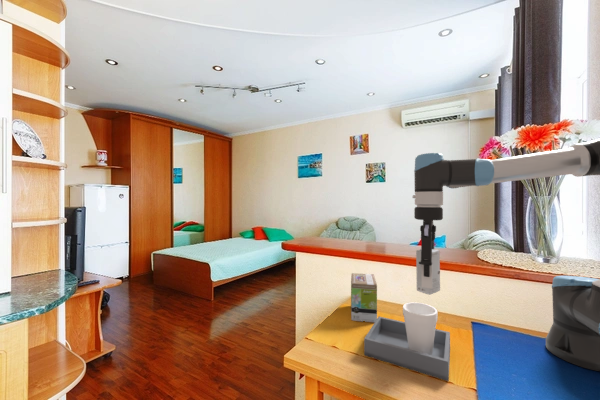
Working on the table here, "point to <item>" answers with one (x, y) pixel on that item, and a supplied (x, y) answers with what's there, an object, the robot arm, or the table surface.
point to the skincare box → (434, 272)
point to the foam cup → (420, 326)
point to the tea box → (363, 297)
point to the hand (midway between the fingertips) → (428, 283)
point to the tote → (407, 348)
